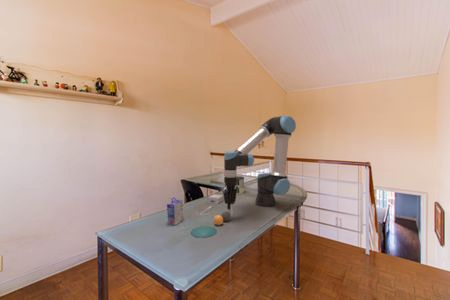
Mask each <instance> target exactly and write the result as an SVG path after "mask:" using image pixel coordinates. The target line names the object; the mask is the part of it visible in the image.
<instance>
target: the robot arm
mask: <svg viewBox="0 0 450 300" xmlns="http://www.w3.org/2000/svg"><path fill="white" fill-rule="evenodd" d="M296 128H297V124H296V121H295V119H294V118H293V117H292V116H290V115H282V116H273V117H271V118H269V119H268V120H267V121H265V122H264V123H262V125H260V127H259V128H258V130H257V131H256V132H255V133H254V134H252V135H251V136H250V137H248V139H247V140H245V141H244V142H243V143H242V144H241V145H240V146H239V147H238V148H236V149H235V150H234V151H225V152H224V158H223V162H224V168H223V169H224V170H223V171H224V178H223V182H224V184H225V185H224V188H222V189H221V191H222V195H223V201H224V203H225V205H226V207H227V212H229V213H230V216H232V215H233V211H234V210H233V208H234V204H235V202H236V198H237V194H236V193H237V189H238V186H235V183H236V176H238V175H237V173H238V172H237V168H238V167H250V166H253V165H254V163H255V158H254V156H253V155H252V154H251V153H250V152H251V151H252V150H254V149H255V148H256V147H258V145H259V144H260V143H262V141H264V139H266V138H269V137H270V136H271V135H273V136H274V137H275V145H274V153H273V154H274V155H273V164H272V166H273V167H272V171H271V172H262V173H258V174H257V179H256V180H257V194H256V197H255V202H254V203H255V205H256V206H260V207H263V208H264V207H265V208H266V207H274V206H276V205H277V204H276V203H277V201H276V198H275V195H276V196H277V195H278V196H284V195H286V194H287V193H288V192H289V191H290V188H291V182H290V181H289V179H288V174H287V173H286V169H287V161H288V160H287V159H288V148H289V139H290V137H292V133H293V132H294V131H295V130H296Z"/></svg>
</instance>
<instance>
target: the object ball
mask: <svg viewBox="0 0 450 300" xmlns="http://www.w3.org/2000/svg"><path fill="white" fill-rule="evenodd" d="M223 222H224V220H223V217H222V216H221V215H220V214H217V215H215V216H214V217H213V223H214V224H215V225H216V226H220V225H221V224H223Z"/></svg>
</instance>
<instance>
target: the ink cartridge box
mask: <svg viewBox="0 0 450 300" xmlns="http://www.w3.org/2000/svg"><path fill="white" fill-rule="evenodd" d="M170 200H171V202H169V203H167V204H166V209H167V224H168V225H171V226H177V224H179V223H180V222H182V221H183V220H184V202H183V200H182V199H176V198H175V197H172V198H170Z"/></svg>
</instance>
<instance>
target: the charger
mask: <svg viewBox="0 0 450 300" xmlns="http://www.w3.org/2000/svg"><path fill="white" fill-rule="evenodd" d="M206 198H207V201H206V202H207V203H209V204H216V205H218V204H219V203H221V202H223V201H224V195H223V194H216V193H215V194H211V195H209V196H207V197H206Z"/></svg>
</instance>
